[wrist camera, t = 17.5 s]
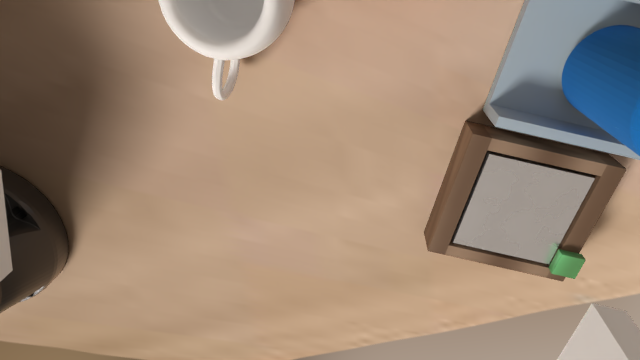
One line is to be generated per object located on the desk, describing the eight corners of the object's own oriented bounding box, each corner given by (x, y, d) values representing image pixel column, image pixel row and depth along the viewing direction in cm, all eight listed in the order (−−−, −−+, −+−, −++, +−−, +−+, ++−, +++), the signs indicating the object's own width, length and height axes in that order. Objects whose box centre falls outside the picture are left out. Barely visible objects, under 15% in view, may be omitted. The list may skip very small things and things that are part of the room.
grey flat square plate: (451, 236, 41) (453, 242, 40) (486, 149, 37) (489, 154, 36) (544, 257, 41) (548, 264, 40) (589, 172, 37) (595, 178, 36)
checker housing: (424, 232, 43) (429, 256, 40) (465, 120, 38) (475, 137, 35) (553, 261, 43) (569, 288, 40) (611, 154, 38) (635, 174, 35)
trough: (482, 109, 37) (494, 126, 34) (537, -33, 33) (558, -31, 29) (651, 148, 38) (681, 169, 34) (730, 12, 33) (774, 20, 29)
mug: (194, -91, 33) (148, -101, 26) (312, -66, 33) (297, -70, 26) (185, 75, 38) (145, 103, 31) (286, 96, 38) (269, 129, 31)
